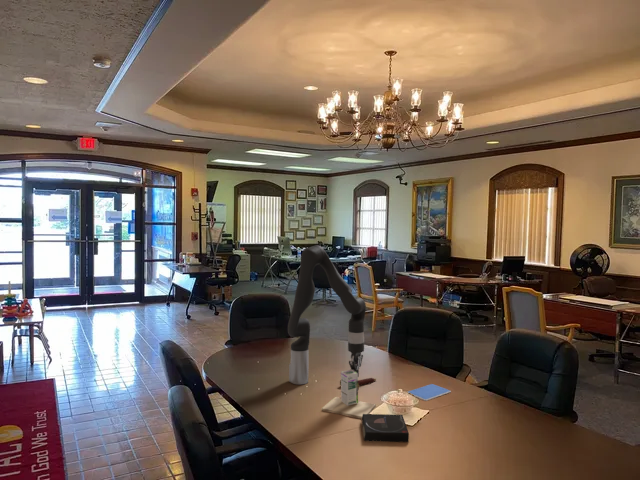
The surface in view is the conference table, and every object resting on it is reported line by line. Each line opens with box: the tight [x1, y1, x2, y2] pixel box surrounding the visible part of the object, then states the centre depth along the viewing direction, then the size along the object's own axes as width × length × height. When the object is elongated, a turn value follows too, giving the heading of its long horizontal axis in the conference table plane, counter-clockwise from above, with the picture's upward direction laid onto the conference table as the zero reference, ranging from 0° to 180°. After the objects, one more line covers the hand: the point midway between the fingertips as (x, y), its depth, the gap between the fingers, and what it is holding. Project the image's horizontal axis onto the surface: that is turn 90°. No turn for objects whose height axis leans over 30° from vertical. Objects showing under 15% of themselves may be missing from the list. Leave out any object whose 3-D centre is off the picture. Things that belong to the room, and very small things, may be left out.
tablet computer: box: [407, 383, 452, 402], centre depth 226 cm, size 19×13×1 cm, turn 126°
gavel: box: [339, 377, 377, 391], centre depth 236 cm, size 21×5×10 cm
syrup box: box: [340, 368, 359, 406], centre depth 209 cm, size 6×6×14 cm
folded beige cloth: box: [321, 396, 377, 420], centre depth 206 cm, size 20×15×1 cm
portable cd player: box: [361, 413, 410, 443], centre depth 184 cm, size 16×17×4 cm
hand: (355, 377), depth 215 cm, fingers closed
